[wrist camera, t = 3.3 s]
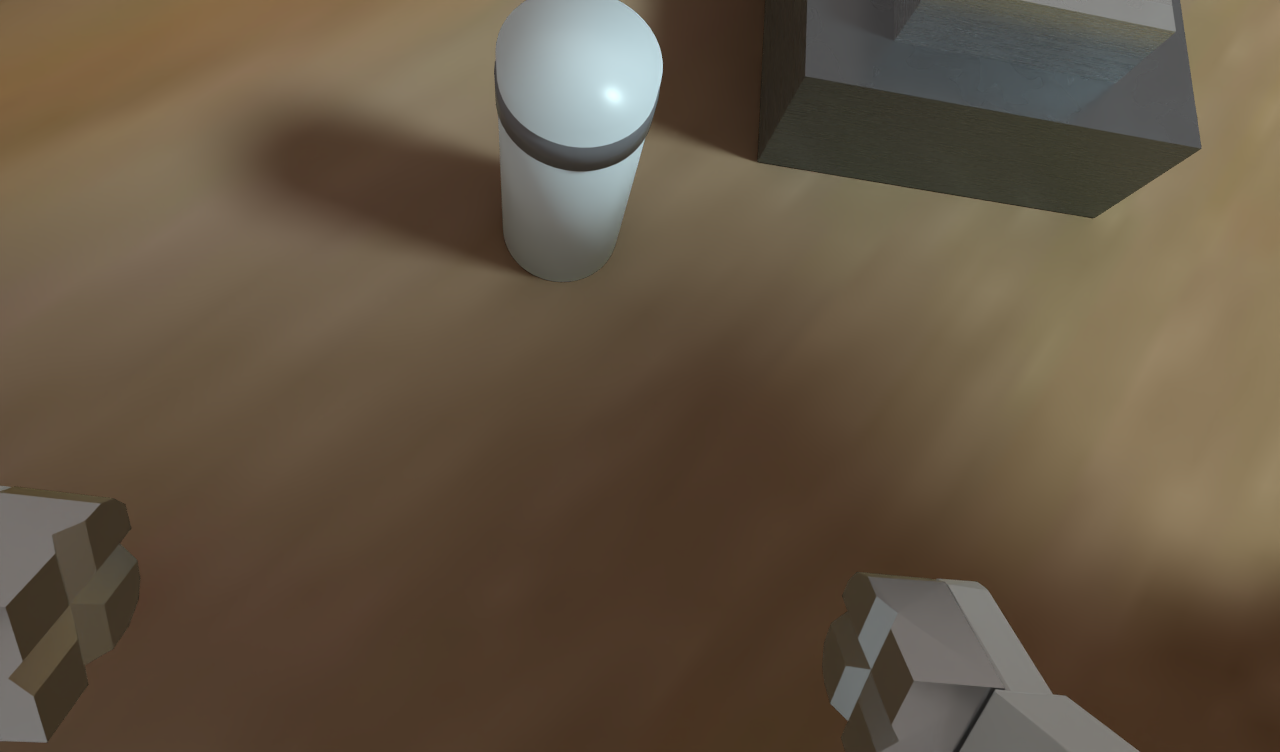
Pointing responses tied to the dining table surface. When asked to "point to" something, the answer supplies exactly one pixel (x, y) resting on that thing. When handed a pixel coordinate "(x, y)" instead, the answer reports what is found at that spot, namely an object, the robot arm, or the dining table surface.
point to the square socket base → (981, 96)
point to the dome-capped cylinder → (571, 128)
